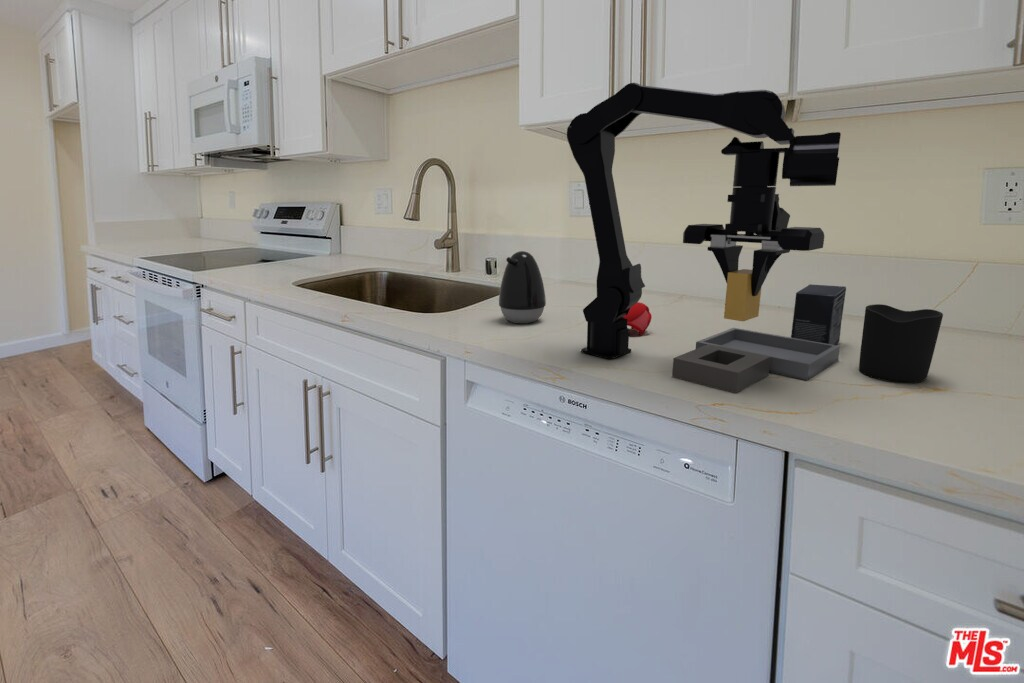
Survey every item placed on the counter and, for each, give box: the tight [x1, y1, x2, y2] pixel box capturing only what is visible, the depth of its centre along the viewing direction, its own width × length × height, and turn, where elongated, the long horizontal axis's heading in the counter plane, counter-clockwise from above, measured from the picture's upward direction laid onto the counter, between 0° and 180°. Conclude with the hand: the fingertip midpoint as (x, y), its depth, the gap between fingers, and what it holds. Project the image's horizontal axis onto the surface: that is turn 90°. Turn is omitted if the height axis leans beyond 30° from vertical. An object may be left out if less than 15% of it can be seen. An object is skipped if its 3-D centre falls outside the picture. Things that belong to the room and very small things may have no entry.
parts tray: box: [695, 327, 841, 381], centre depth 92 cm, size 18×14×2 cm
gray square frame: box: [671, 344, 771, 394], centre depth 84 cm, size 10×11×3 cm
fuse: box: [723, 268, 762, 322], centre depth 83 cm, size 3×5×7 cm, turn 132°
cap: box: [623, 301, 653, 336], centre depth 109 cm, size 8×6×6 cm
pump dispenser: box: [498, 250, 547, 324], centre depth 119 cm, size 10×10×15 cm
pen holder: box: [858, 303, 944, 384], centre depth 83 cm, size 9×9×10 cm
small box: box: [790, 284, 847, 345], centre depth 98 cm, size 11×6×10 cm, turn 141°
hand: (743, 294), depth 83 cm, fingers closed on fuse, 3 cm apart
